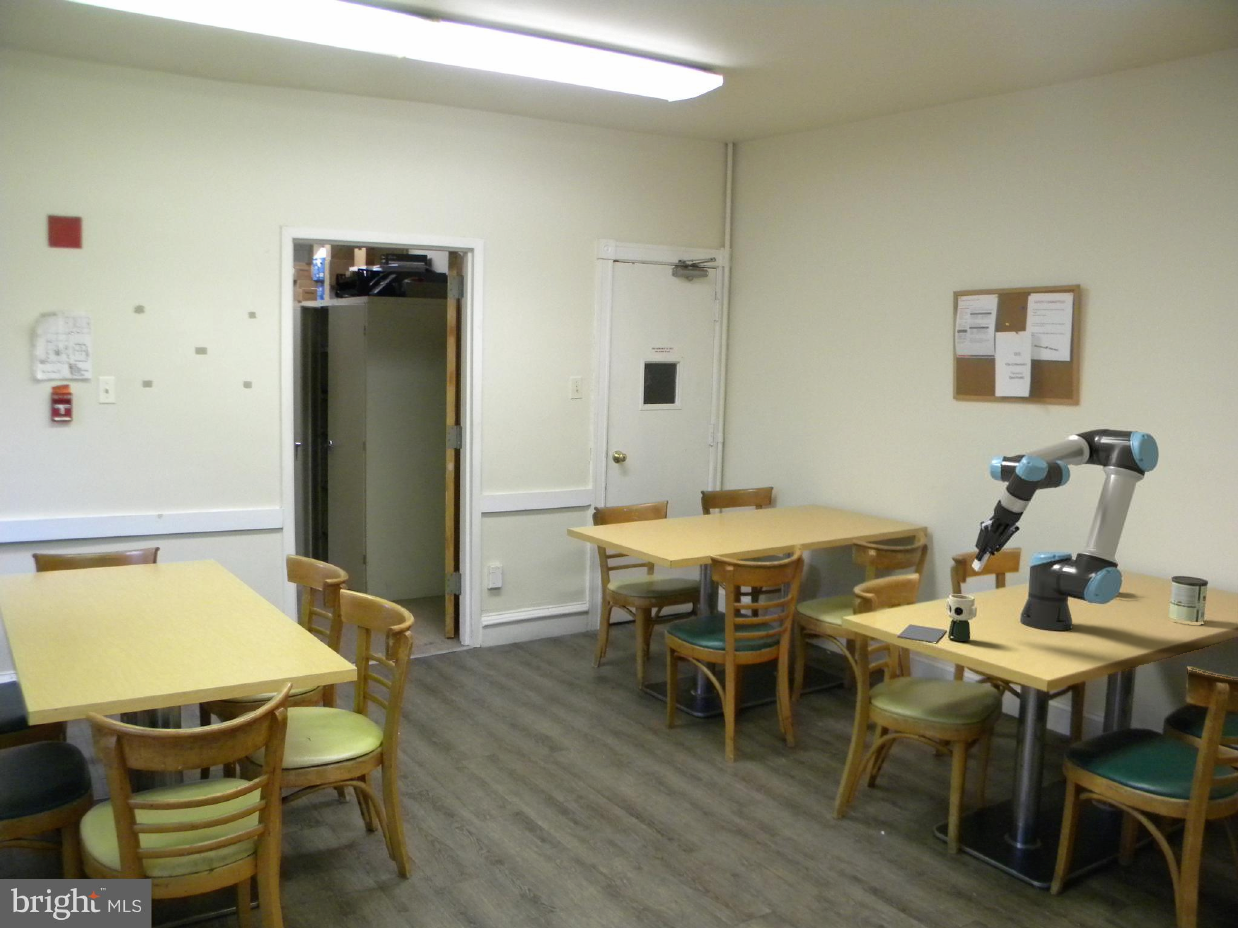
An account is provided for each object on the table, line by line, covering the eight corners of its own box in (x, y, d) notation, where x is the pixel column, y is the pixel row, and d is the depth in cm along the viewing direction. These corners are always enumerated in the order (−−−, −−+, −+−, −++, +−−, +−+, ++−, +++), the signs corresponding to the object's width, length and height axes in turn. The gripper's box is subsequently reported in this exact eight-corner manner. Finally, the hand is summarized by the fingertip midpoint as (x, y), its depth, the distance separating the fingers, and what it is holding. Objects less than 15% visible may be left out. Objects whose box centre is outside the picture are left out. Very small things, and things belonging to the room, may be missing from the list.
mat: (946, 631, 306) (946, 629, 306) (935, 643, 292) (935, 642, 292) (909, 625, 311) (910, 624, 311) (897, 637, 297) (897, 635, 297)
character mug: (936, 636, 299) (939, 593, 298) (952, 633, 303) (955, 591, 301) (965, 646, 290) (968, 602, 288) (982, 643, 293) (985, 599, 292)
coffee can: (1166, 615, 335) (1170, 574, 334) (1202, 620, 331) (1206, 578, 330) (1169, 622, 326) (1173, 580, 325) (1205, 627, 322) (1209, 584, 320)
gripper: (1022, 498, 294) (986, 560, 306) (986, 496, 289) (951, 559, 301) (1037, 514, 288) (1000, 577, 300) (1001, 512, 283) (965, 576, 295)
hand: (976, 568), depth 301 cm, fingers closed
